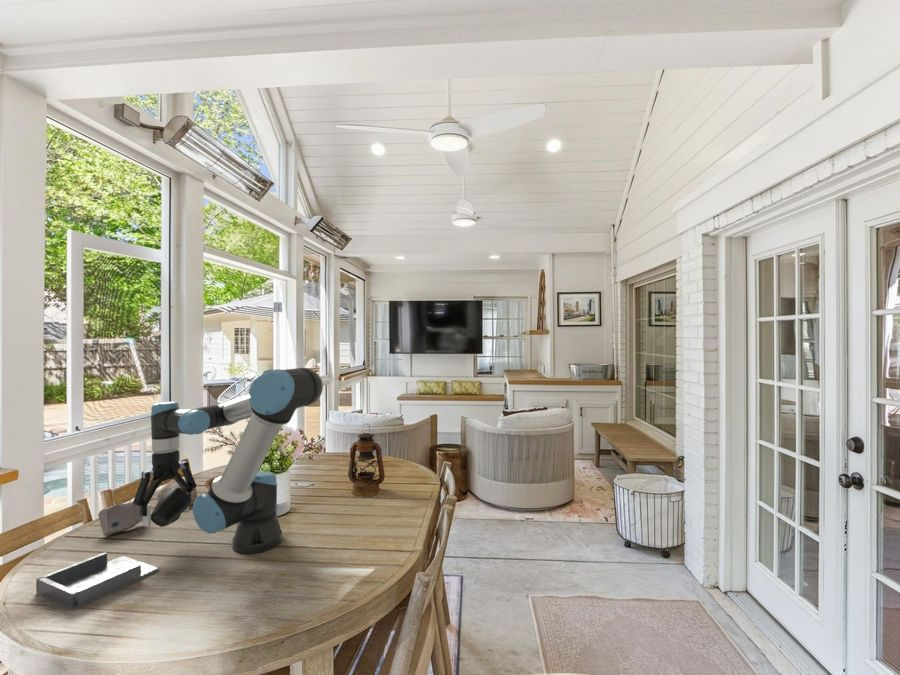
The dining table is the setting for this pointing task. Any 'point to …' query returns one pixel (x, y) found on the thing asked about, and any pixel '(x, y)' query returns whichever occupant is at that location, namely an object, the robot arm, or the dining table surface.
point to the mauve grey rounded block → (119, 518)
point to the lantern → (366, 479)
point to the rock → (175, 485)
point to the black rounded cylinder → (170, 507)
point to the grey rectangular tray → (91, 580)
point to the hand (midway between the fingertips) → (166, 518)
